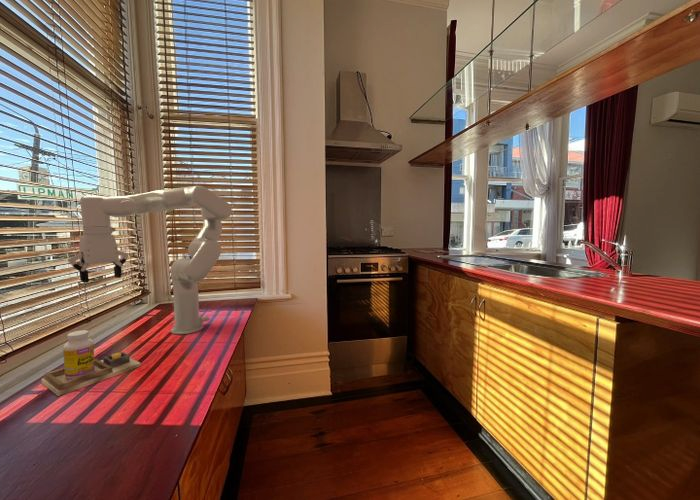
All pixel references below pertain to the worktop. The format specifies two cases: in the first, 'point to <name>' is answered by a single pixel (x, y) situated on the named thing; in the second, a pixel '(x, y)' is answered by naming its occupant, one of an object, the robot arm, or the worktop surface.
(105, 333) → the worktop surface
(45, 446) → the worktop surface
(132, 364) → the beige tray
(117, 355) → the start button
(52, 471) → the worktop surface
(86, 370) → the supplement bottle
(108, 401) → the worktop surface
